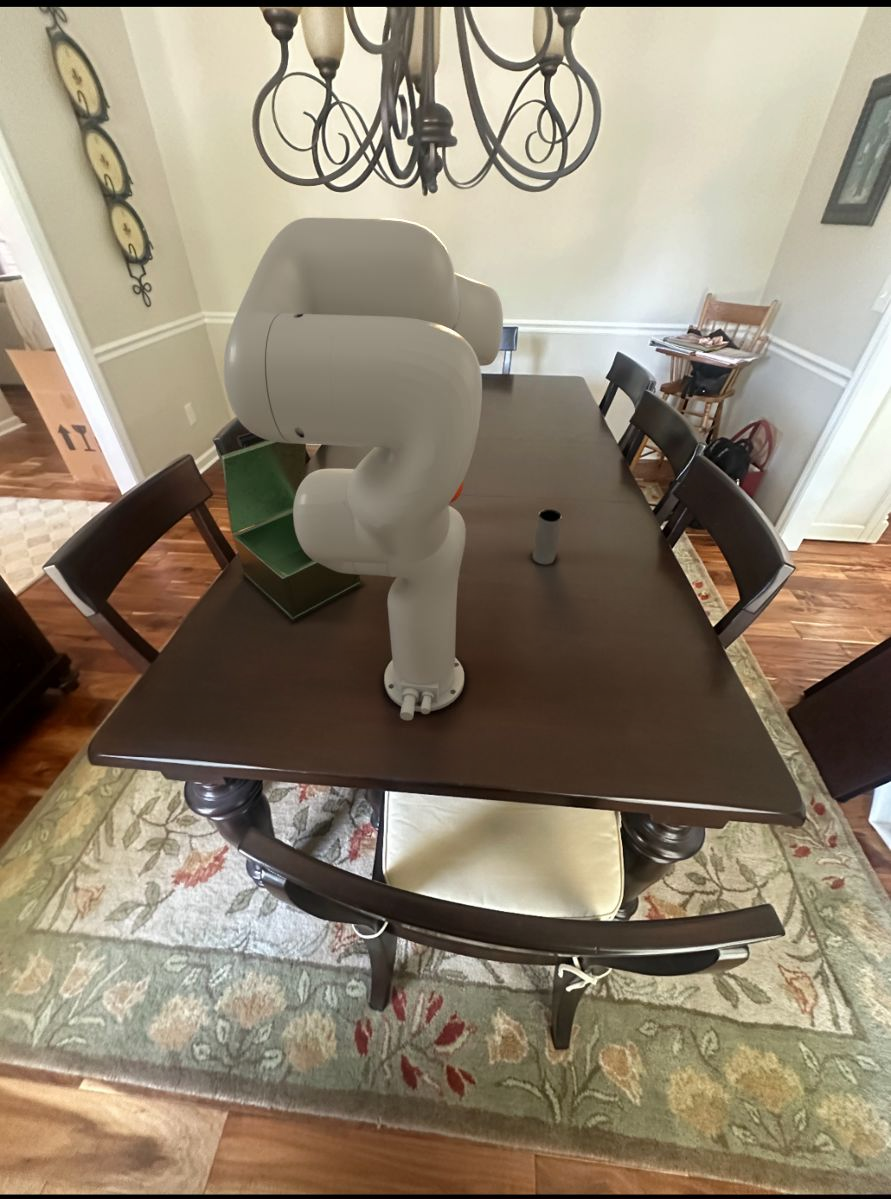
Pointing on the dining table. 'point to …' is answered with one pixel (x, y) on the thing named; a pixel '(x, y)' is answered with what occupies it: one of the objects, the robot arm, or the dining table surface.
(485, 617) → the dining table surface
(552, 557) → the grey cylinder
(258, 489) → the lid
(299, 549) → the open green keepsake box
